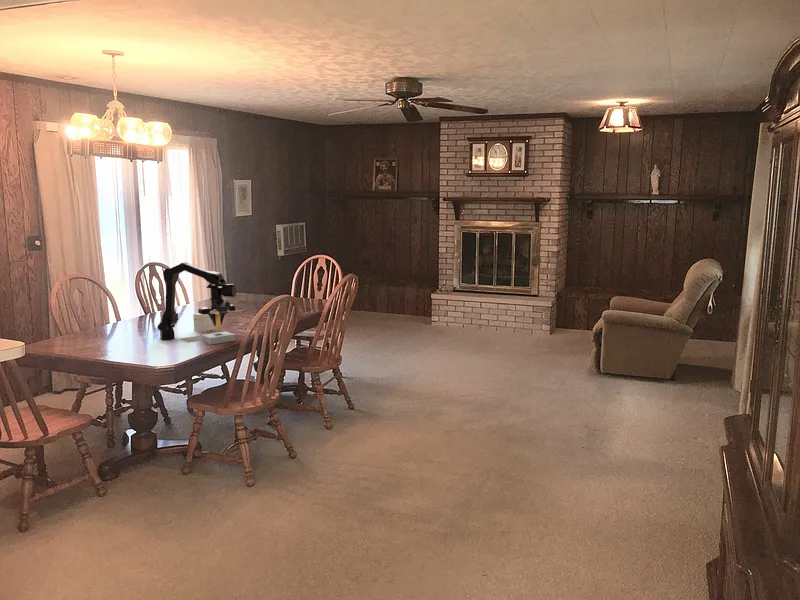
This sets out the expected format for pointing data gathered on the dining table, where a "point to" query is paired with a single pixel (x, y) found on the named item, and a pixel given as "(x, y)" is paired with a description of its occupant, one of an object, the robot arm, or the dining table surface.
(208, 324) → the small box
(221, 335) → the socket block
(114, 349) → the dining table surface
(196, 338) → the mat
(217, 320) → the peg
